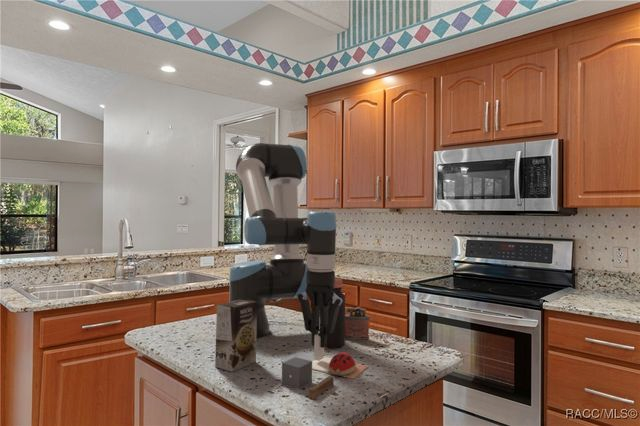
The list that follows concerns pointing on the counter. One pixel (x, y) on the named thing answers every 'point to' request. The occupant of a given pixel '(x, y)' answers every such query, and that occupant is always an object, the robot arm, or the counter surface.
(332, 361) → the ladybug figurine
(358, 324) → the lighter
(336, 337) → the bottle
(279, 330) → the counter surface
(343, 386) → the counter surface
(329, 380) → the brown bar
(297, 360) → the die
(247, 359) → the coffee box
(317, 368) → the track
